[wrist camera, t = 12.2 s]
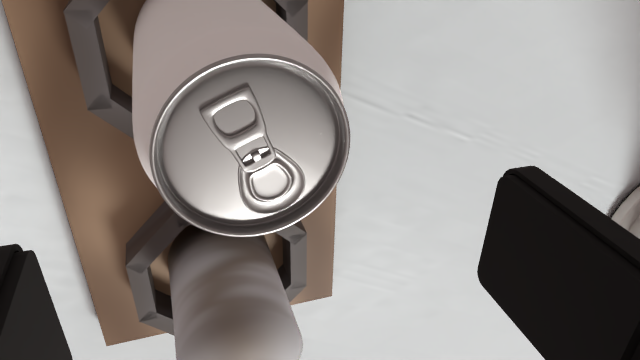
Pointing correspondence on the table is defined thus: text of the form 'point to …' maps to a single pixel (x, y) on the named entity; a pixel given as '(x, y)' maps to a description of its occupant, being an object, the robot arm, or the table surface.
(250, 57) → the can
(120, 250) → the brown cup holder tray
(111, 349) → the table surface
